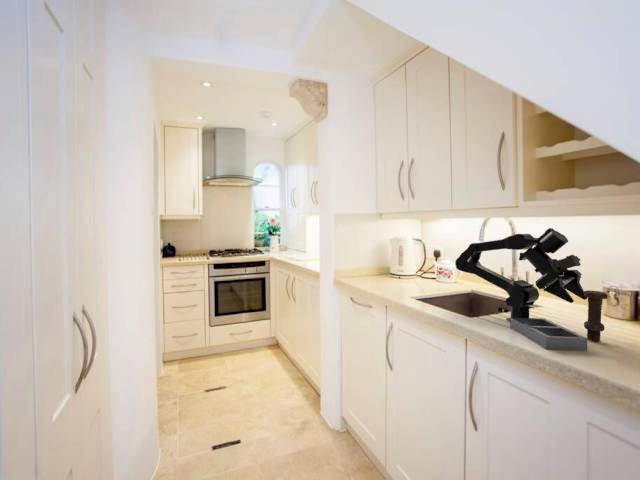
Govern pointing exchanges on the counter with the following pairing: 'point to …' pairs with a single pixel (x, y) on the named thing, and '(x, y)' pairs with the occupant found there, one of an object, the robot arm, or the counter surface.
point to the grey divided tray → (549, 334)
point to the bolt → (594, 314)
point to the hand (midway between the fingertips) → (579, 300)
